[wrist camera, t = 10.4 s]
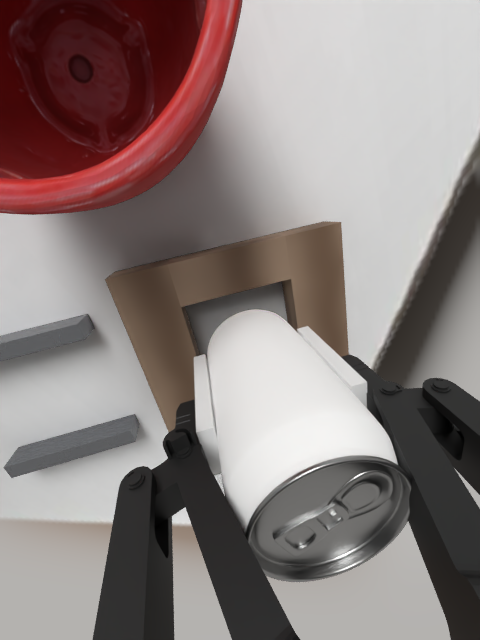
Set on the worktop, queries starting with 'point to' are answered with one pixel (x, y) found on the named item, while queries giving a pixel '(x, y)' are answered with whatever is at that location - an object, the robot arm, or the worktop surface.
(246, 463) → the can
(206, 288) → the plate
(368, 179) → the worktop surface
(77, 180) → the plant pot
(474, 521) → the robot arm
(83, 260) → the worktop surface
